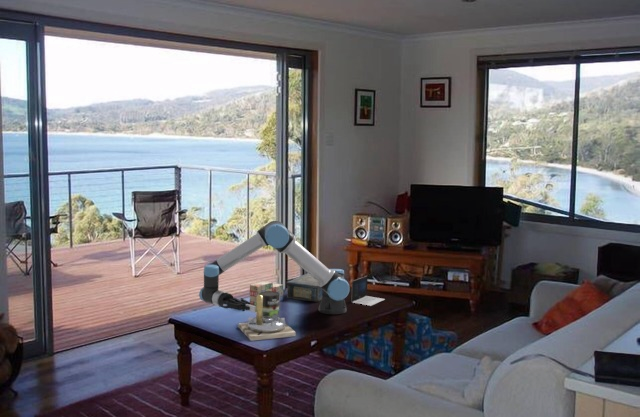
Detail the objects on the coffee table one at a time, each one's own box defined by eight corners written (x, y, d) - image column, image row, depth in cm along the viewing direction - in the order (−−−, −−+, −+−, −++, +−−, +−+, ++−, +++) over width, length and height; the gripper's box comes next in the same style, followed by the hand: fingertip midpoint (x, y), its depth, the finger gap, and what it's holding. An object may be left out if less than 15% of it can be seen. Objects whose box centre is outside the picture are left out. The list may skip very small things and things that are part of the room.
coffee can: (282, 321, 341) (283, 294, 339) (265, 324, 334) (266, 297, 333) (272, 316, 349) (272, 290, 347) (255, 319, 343) (255, 292, 341)
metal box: (285, 298, 386) (285, 281, 385) (308, 286, 416) (308, 271, 415) (318, 303, 378) (318, 286, 377) (340, 290, 407) (340, 274, 406)
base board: (238, 327, 328) (238, 323, 328) (280, 323, 337) (280, 319, 336) (250, 340, 308) (250, 336, 308) (295, 336, 316) (295, 331, 316)
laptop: (370, 307, 372) (371, 284, 370) (351, 303, 379) (351, 281, 377) (385, 300, 387) (385, 278, 385) (366, 297, 394) (366, 275, 392)
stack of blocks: (275, 298, 385) (275, 277, 384) (283, 300, 381) (283, 279, 380) (249, 306, 368) (249, 284, 367) (257, 308, 364) (257, 286, 363)
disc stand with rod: (262, 319, 334) (262, 286, 332) (292, 325, 325) (292, 291, 323) (240, 328, 319) (240, 294, 317) (271, 335, 310) (271, 299, 308)
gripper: (232, 304, 337) (264, 314, 321) (213, 309, 327) (245, 319, 312) (233, 290, 336) (265, 299, 320) (213, 294, 326) (245, 304, 311)
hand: (255, 309), depth 316 cm, fingers closed
